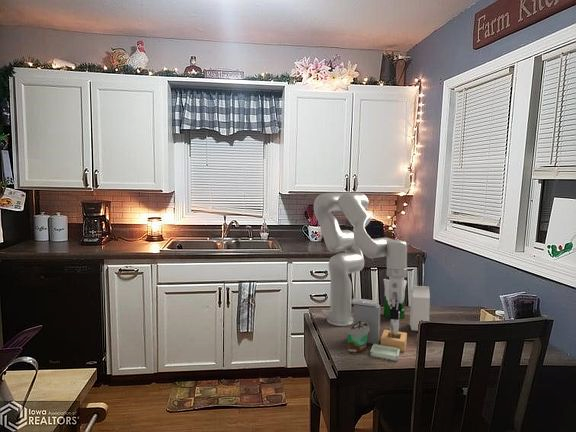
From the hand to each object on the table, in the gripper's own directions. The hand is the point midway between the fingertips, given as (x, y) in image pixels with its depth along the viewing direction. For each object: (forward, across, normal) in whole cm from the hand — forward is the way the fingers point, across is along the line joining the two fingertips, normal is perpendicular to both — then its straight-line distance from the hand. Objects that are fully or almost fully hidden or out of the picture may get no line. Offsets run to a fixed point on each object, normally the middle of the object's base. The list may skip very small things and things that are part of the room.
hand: (395, 315), depth 151 cm
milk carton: (+13, +22, -7) cm, 27 cm away
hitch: (+12, 0, +6) cm, 14 cm away
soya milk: (+12, +32, +5) cm, 35 cm away
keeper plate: (-3, 0, +12) cm, 13 cm away
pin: (+12, 0, +1) cm, 13 cm away
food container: (+13, -9, +12) cm, 20 cm away
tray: (+13, -9, +3) cm, 16 cm away
